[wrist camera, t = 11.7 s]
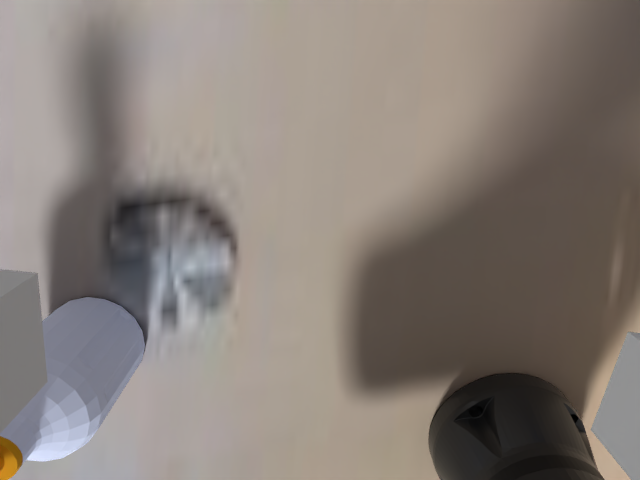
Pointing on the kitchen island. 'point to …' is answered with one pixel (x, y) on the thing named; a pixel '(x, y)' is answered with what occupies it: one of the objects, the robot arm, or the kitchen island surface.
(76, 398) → the soap bottle
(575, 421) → the robot arm
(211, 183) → the kitchen island surface
